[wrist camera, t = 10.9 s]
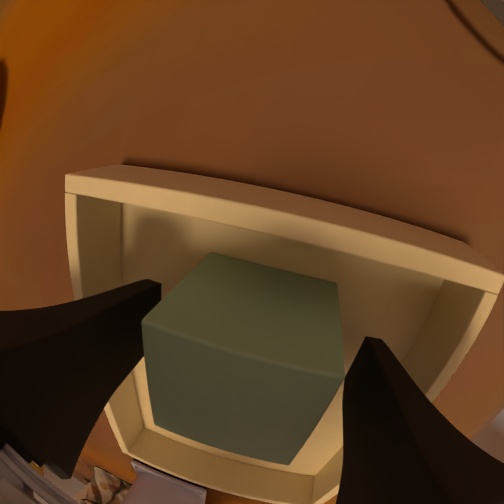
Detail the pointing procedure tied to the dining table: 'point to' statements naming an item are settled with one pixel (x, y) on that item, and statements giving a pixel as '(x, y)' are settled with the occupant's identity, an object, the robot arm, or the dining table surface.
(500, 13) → the alarm clock
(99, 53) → the dining table surface
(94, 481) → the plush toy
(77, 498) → the cup
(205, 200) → the beige rectangular tray
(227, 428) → the block
